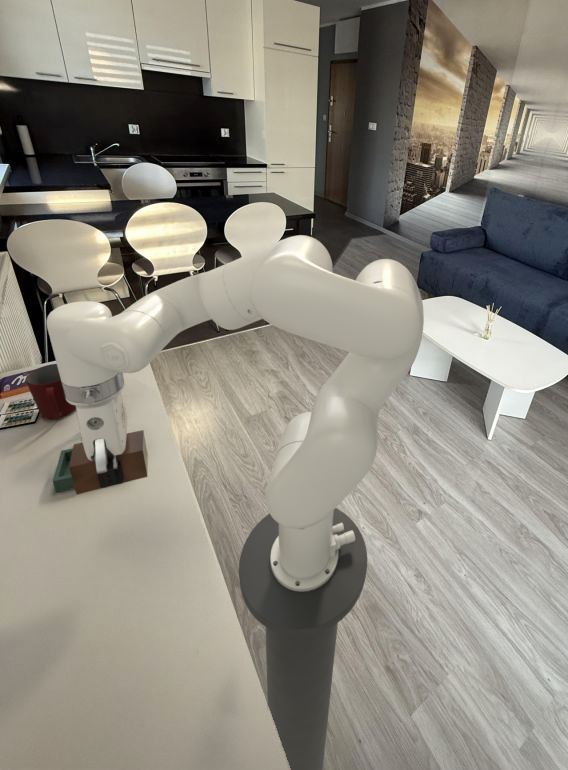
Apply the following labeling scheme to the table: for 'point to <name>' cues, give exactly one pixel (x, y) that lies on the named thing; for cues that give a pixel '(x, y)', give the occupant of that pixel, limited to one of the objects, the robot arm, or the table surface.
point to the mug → (49, 392)
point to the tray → (63, 472)
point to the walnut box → (130, 460)
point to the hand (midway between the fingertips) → (113, 470)
